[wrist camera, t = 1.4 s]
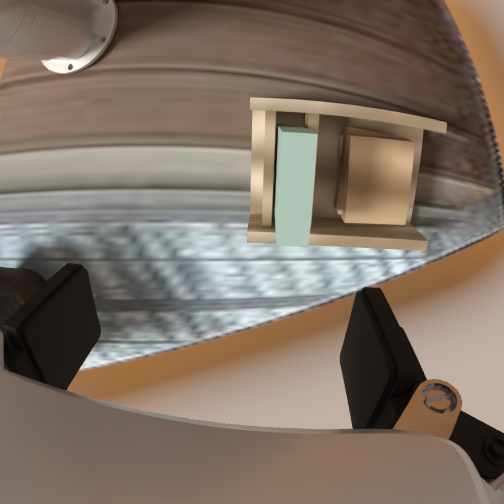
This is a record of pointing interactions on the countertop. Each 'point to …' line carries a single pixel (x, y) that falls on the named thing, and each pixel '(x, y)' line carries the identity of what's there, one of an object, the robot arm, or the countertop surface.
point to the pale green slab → (294, 184)
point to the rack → (329, 170)
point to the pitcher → (16, 291)
